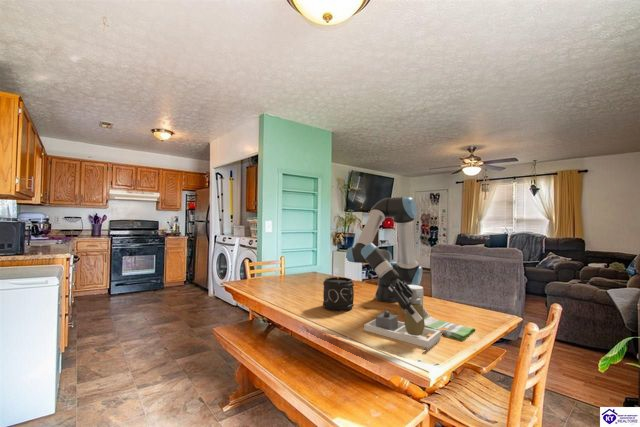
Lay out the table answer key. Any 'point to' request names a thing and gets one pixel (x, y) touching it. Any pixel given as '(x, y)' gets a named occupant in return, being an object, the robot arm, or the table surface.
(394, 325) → the block
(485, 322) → the table surface
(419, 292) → the supplement tub
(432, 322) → the dish towel
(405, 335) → the tray
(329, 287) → the black marked cylinder
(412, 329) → the squeeze bottle
